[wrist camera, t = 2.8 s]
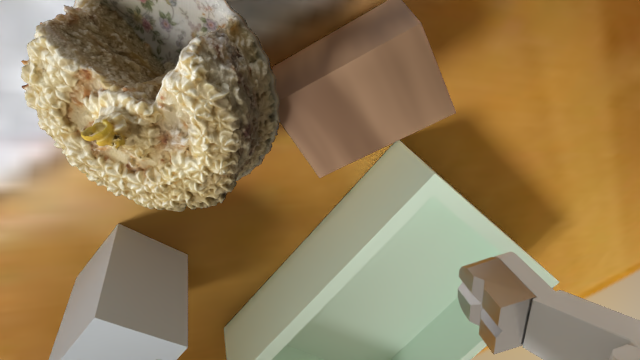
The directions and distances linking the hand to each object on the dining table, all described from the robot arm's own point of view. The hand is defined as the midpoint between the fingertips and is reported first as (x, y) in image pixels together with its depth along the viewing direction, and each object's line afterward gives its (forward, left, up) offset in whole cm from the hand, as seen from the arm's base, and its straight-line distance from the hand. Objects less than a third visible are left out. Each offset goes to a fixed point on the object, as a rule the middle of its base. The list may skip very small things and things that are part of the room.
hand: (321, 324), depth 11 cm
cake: (0, +5, -12) cm, 13 cm away
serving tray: (-4, -16, -14) cm, 21 cm away
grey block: (-11, 0, -14) cm, 18 cm away
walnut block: (+2, -1, -12) cm, 12 cm away
